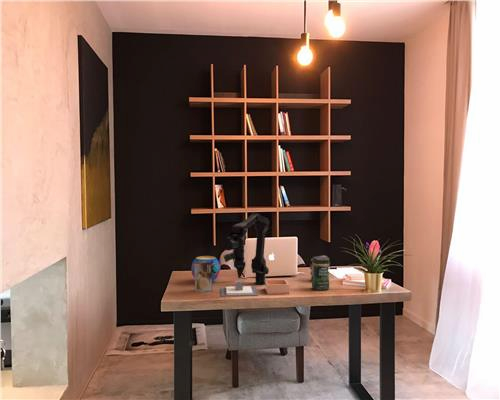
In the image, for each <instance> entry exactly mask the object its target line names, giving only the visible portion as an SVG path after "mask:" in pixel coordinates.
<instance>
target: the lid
mask: <svg viewBox="0 0 500 400" xmlns="http://www.w3.org/2000/svg"><path fill="white" fill-rule="evenodd" d="M234 281H235V282H234V284H235V286H233V285H232V286H225V288H226V294H227V295H246V294H253V292H252V289H251V287H252V286H251V285H243V284H244V281H243V280H234Z"/></svg>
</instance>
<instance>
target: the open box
mask: <svg viewBox="0 0 500 400" xmlns="http://www.w3.org/2000/svg"><path fill="white" fill-rule="evenodd" d="M264 290H265V292H266V295H289V294H290V284H289V283H288V281H287V280H286V279H265V284H264Z"/></svg>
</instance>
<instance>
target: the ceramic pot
mask: <svg viewBox="0 0 500 400" xmlns="http://www.w3.org/2000/svg"><path fill="white" fill-rule="evenodd" d="M200 261H210V262H212V282H214V281H215V280H217V278H218V276H219V275H220V271H221V264H220V261H219V260H218V258H217V257H216V256H211V255H202V256H201V255H200V256H196V257H195V259H194V260H193V261H192V264H191V275H192V276H193V278H194V279H195V267H194V262H200Z"/></svg>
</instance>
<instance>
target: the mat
mask: <svg viewBox="0 0 500 400" xmlns="http://www.w3.org/2000/svg"><path fill="white" fill-rule="evenodd" d="M251 289H252V292H253V294H246V295H227V294H226V287H220V297H255V296H256V297H257V296H258V297H259V293H258V290H257V287H256V286H251Z"/></svg>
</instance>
